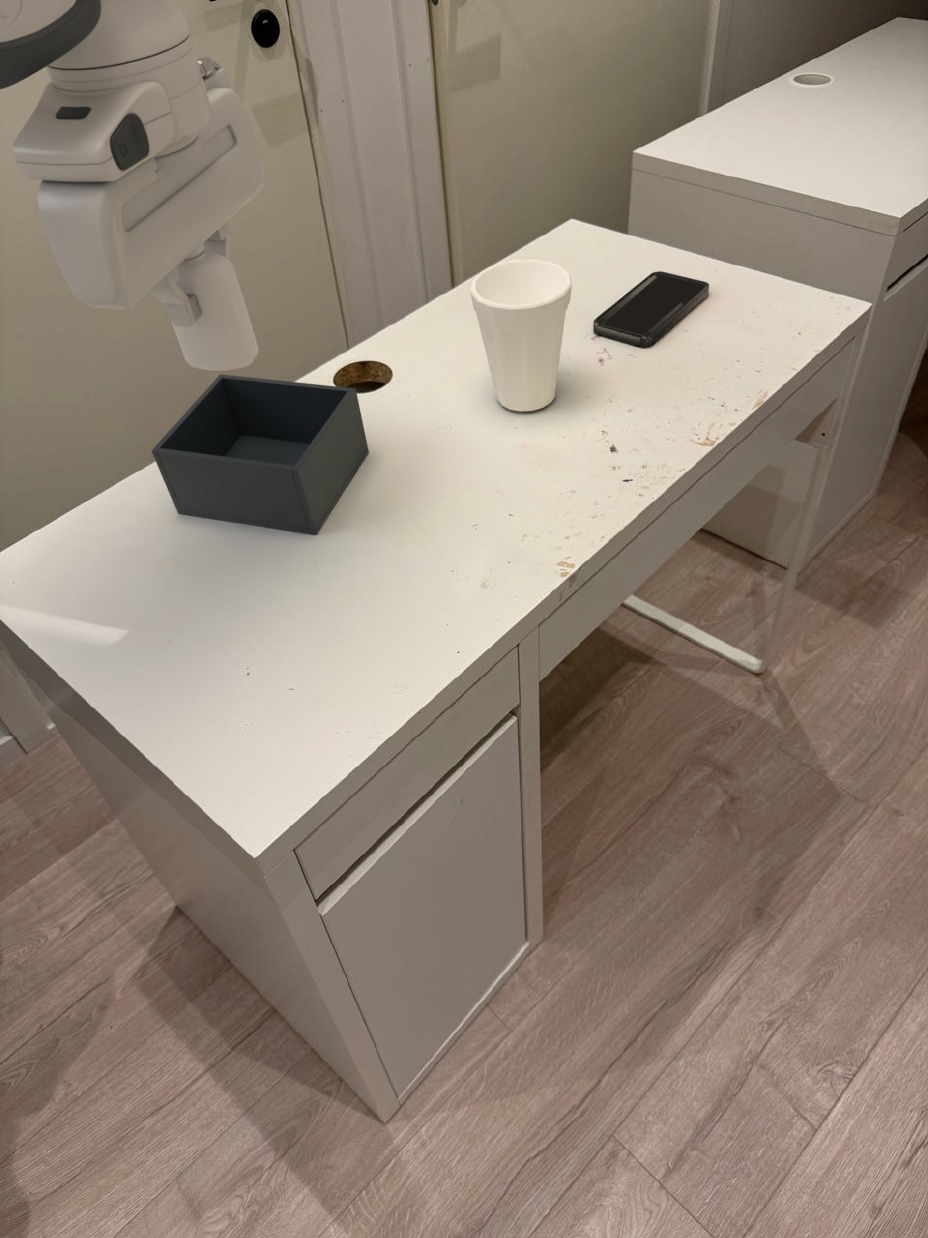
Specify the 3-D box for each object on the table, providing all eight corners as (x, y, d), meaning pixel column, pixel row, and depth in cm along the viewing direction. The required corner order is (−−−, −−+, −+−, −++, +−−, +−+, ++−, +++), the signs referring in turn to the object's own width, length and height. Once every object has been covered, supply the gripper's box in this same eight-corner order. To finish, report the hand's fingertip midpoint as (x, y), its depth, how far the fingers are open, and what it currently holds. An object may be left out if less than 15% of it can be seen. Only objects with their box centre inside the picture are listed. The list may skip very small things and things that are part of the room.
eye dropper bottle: (222, 338, 71) (171, 184, 63) (268, 356, 69) (222, 198, 60) (180, 363, 69) (121, 208, 61) (225, 383, 67) (171, 223, 58)
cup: (590, 387, 96) (591, 270, 86) (540, 435, 91) (535, 316, 81) (513, 364, 100) (507, 251, 91) (461, 408, 95) (449, 293, 86)
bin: (177, 513, 87) (150, 450, 82) (240, 435, 96) (220, 373, 90) (316, 535, 83) (297, 470, 78) (369, 452, 91) (355, 387, 86)
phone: (589, 323, 103) (655, 269, 110) (589, 332, 103) (655, 278, 111) (649, 340, 99) (713, 283, 106) (648, 349, 100) (712, 292, 107)
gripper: (178, 47, 63) (235, 239, 73) (-9, 161, 50) (91, 374, 60) (256, 46, 61) (303, 243, 71) (82, 163, 48) (169, 383, 59)
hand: (204, 304), depth 66 cm, fingers closed on eye dropper bottle, 3 cm apart
